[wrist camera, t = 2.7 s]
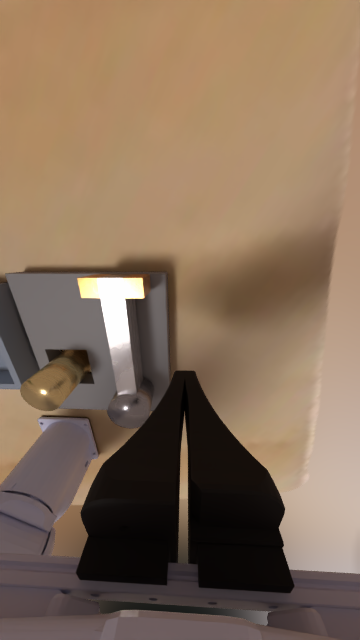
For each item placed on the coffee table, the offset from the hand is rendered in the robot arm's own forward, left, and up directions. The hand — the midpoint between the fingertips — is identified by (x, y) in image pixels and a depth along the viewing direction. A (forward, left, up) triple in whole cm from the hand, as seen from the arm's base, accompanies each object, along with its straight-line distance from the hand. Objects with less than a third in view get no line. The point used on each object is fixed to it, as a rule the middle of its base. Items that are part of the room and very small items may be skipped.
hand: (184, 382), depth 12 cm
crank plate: (-3, +10, -9) cm, 14 cm away
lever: (-2, +6, -7) cm, 9 cm away
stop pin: (-5, +14, -9) cm, 17 cm away
